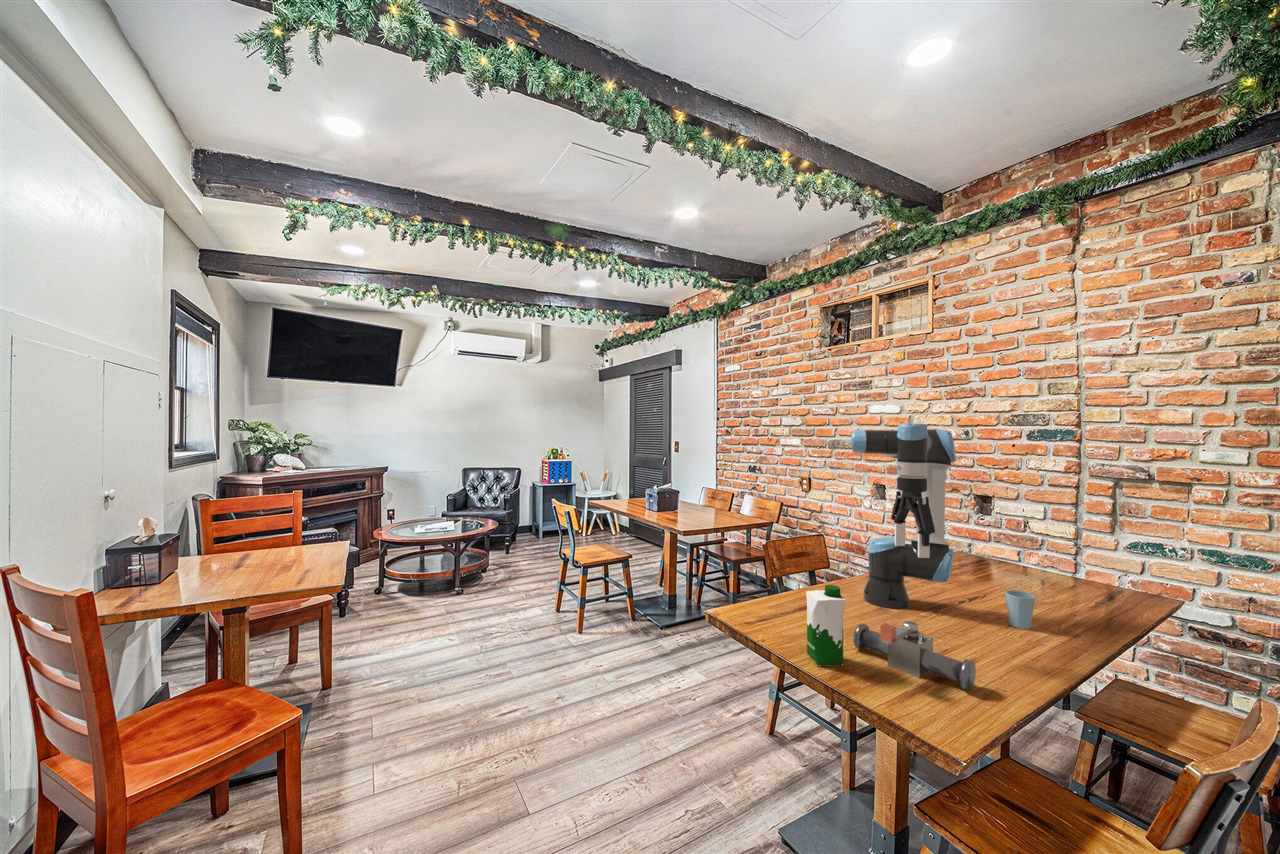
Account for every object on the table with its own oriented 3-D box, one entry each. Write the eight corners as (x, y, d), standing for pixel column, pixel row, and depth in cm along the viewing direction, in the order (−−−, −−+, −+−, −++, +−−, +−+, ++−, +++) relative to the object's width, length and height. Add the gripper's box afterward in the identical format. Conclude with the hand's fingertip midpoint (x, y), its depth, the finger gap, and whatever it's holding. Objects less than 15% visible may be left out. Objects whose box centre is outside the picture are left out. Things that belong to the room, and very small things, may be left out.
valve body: (852, 651, 138) (852, 617, 138) (866, 644, 142) (866, 611, 142) (963, 695, 115) (964, 654, 115) (976, 684, 120) (976, 645, 120)
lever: (906, 626, 131) (906, 611, 131) (920, 631, 128) (920, 615, 128) (878, 641, 122) (878, 624, 122) (893, 646, 119) (893, 629, 119)
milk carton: (848, 667, 128) (849, 592, 128) (815, 668, 128) (816, 593, 128) (832, 652, 137) (833, 582, 137) (802, 653, 136) (802, 582, 136)
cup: (1040, 628, 155) (1040, 596, 155) (1026, 632, 152) (1026, 599, 152) (1014, 619, 162) (1014, 588, 162) (1000, 623, 159) (1000, 592, 159)
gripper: (879, 473, 150) (879, 540, 150) (920, 481, 125) (919, 562, 125) (904, 473, 150) (903, 541, 149) (950, 481, 125) (949, 563, 124)
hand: (911, 551), depth 137 cm, fingers open, 13 cm apart
